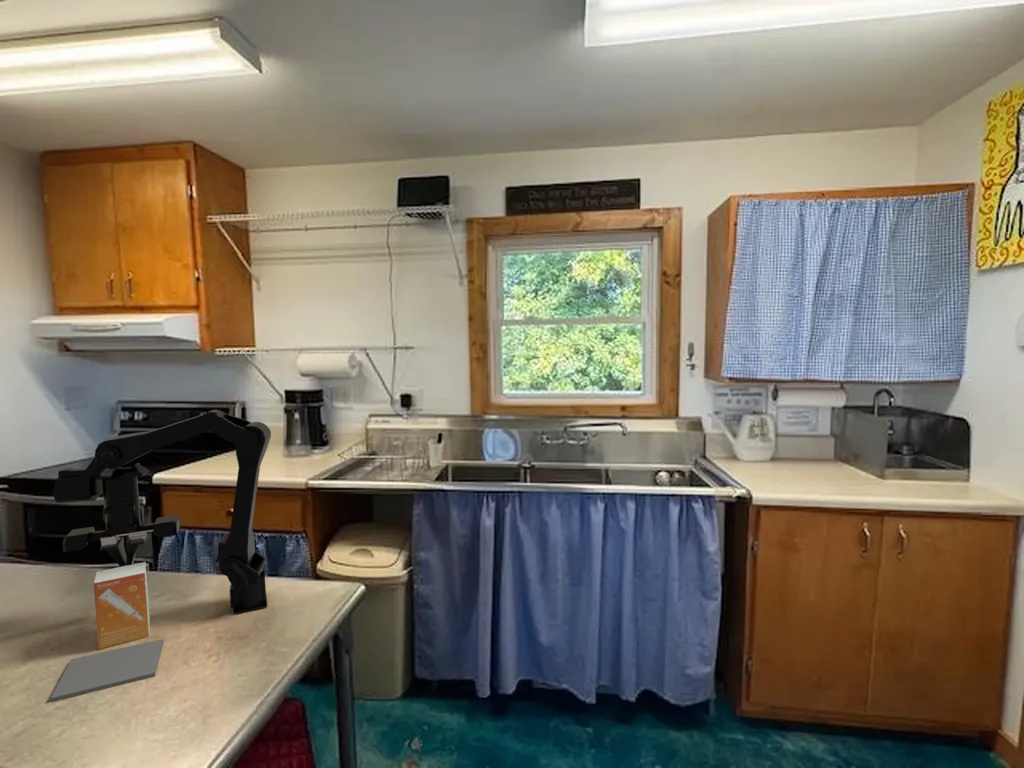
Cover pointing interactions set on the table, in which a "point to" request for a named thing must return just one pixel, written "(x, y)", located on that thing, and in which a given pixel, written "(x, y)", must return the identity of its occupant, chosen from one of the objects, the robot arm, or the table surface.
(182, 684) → the table surface
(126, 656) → the mat
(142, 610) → the small box
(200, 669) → the table surface
